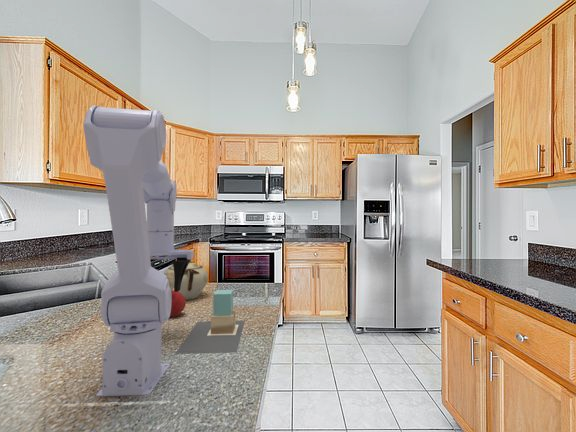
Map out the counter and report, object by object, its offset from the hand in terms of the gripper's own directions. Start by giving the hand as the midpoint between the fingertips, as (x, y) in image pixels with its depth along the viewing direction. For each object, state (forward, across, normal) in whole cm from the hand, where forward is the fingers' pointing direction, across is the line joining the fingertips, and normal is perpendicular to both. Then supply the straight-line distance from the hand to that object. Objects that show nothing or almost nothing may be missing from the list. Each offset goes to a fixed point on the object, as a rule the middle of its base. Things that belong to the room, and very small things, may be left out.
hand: (160, 291), depth 68 cm
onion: (+11, +1, -13) cm, 17 cm away
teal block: (+6, -14, -2) cm, 15 cm away
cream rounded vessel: (+11, +4, -34) cm, 36 cm away
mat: (+10, -12, +1) cm, 16 cm away
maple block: (+10, -14, -2) cm, 17 cm away
